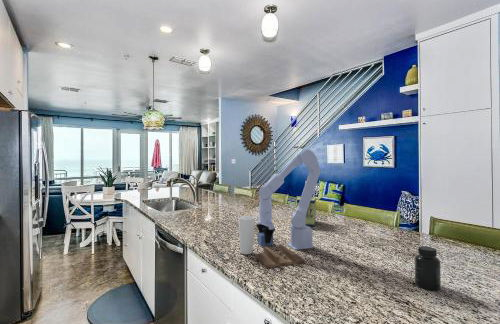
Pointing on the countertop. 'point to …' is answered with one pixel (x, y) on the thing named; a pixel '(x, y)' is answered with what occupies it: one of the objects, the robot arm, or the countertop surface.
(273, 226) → the robot arm
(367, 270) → the countertop surface
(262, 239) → the shelf block
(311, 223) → the protein box
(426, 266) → the supplement bottle
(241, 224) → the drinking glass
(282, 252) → the shelf frame
